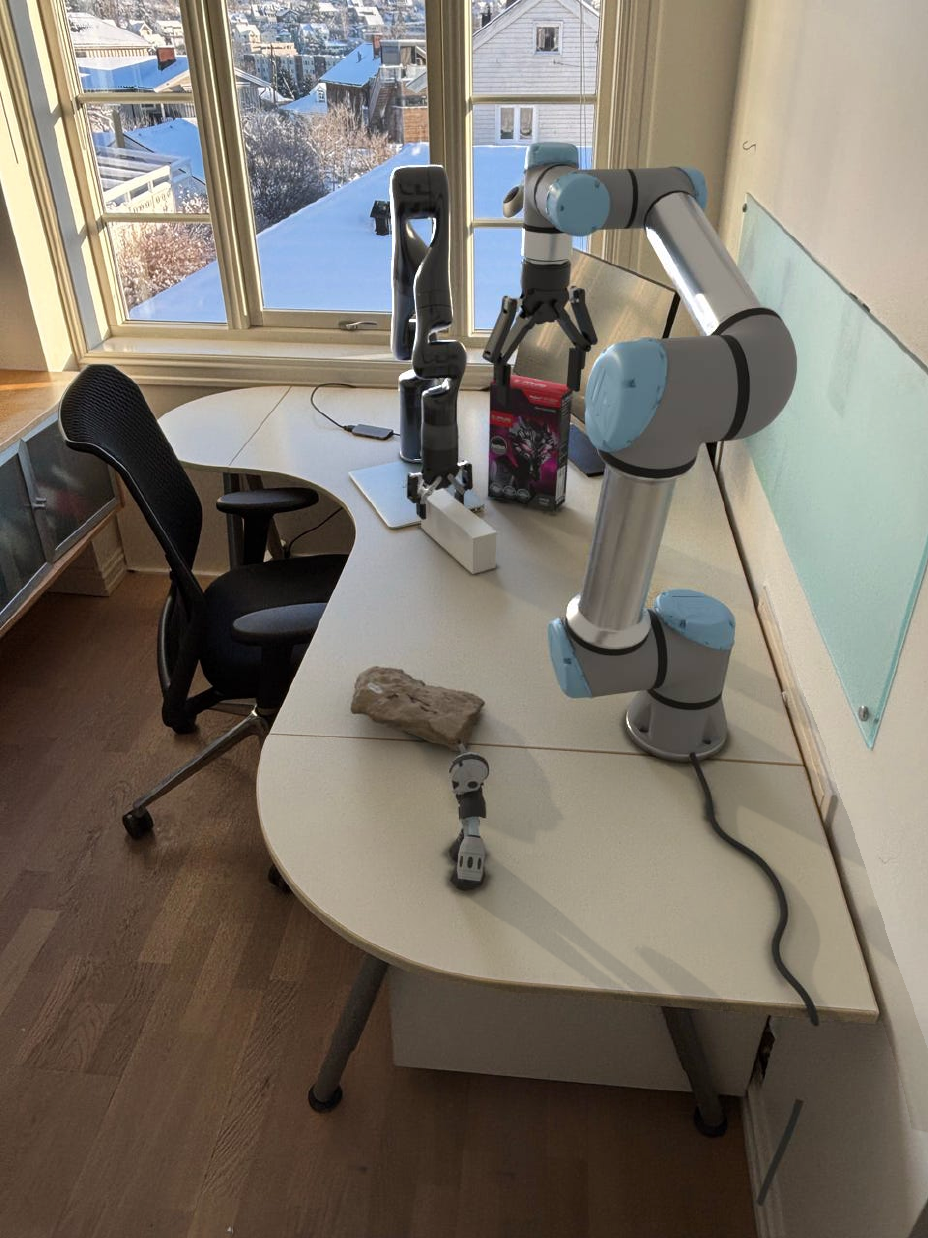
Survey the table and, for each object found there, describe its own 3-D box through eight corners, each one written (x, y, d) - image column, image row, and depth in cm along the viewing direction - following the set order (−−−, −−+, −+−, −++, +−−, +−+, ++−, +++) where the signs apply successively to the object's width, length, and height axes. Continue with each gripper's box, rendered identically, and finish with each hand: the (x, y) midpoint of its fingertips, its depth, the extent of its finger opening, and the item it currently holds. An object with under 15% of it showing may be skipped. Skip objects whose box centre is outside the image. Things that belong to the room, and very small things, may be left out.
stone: (324, 722, 139) (331, 687, 137) (361, 683, 152) (368, 651, 150) (454, 769, 135) (464, 735, 133) (480, 725, 149) (489, 694, 147)
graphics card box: (485, 497, 209) (487, 380, 194) (498, 486, 214) (502, 371, 199) (554, 514, 203) (562, 394, 188) (566, 502, 208) (575, 384, 193)
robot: (491, 927, 112) (496, 809, 101) (451, 928, 112) (451, 811, 101) (481, 809, 129) (484, 697, 117) (446, 811, 128) (445, 698, 117)
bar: (495, 567, 184) (496, 531, 179) (472, 574, 182) (473, 538, 177) (442, 522, 200) (442, 488, 195) (420, 527, 198) (420, 493, 193)
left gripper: (461, 428, 190) (461, 499, 199) (399, 441, 184) (401, 513, 193) (479, 440, 185) (478, 513, 194) (416, 454, 179) (418, 528, 188)
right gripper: (598, 245, 146) (587, 376, 157) (461, 262, 135) (460, 401, 147) (628, 255, 140) (614, 390, 152) (487, 273, 130) (484, 417, 142)
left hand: (440, 513), depth 193 cm, fingers open, 8 cm apart
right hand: (538, 396), depth 150 cm, fingers open, 13 cm apart
